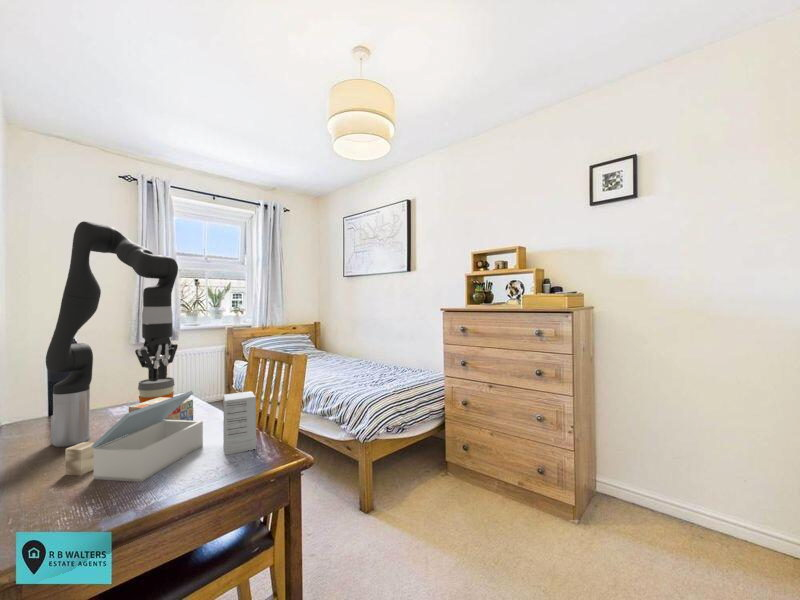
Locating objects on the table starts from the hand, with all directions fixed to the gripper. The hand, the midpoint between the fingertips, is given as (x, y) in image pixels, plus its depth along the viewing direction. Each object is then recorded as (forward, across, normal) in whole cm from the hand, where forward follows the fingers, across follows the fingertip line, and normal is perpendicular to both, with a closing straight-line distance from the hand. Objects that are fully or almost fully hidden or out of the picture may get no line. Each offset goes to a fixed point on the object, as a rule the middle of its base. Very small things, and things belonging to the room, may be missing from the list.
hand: (157, 379), depth 106 cm
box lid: (+11, 0, -3) cm, 12 cm away
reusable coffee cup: (+24, -38, -34) cm, 57 cm away
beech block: (+24, +8, -16) cm, 30 cm away
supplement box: (+24, -12, +19) cm, 33 cm away
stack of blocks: (+24, -22, -18) cm, 38 cm away
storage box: (+24, 0, -1) cm, 24 cm away
